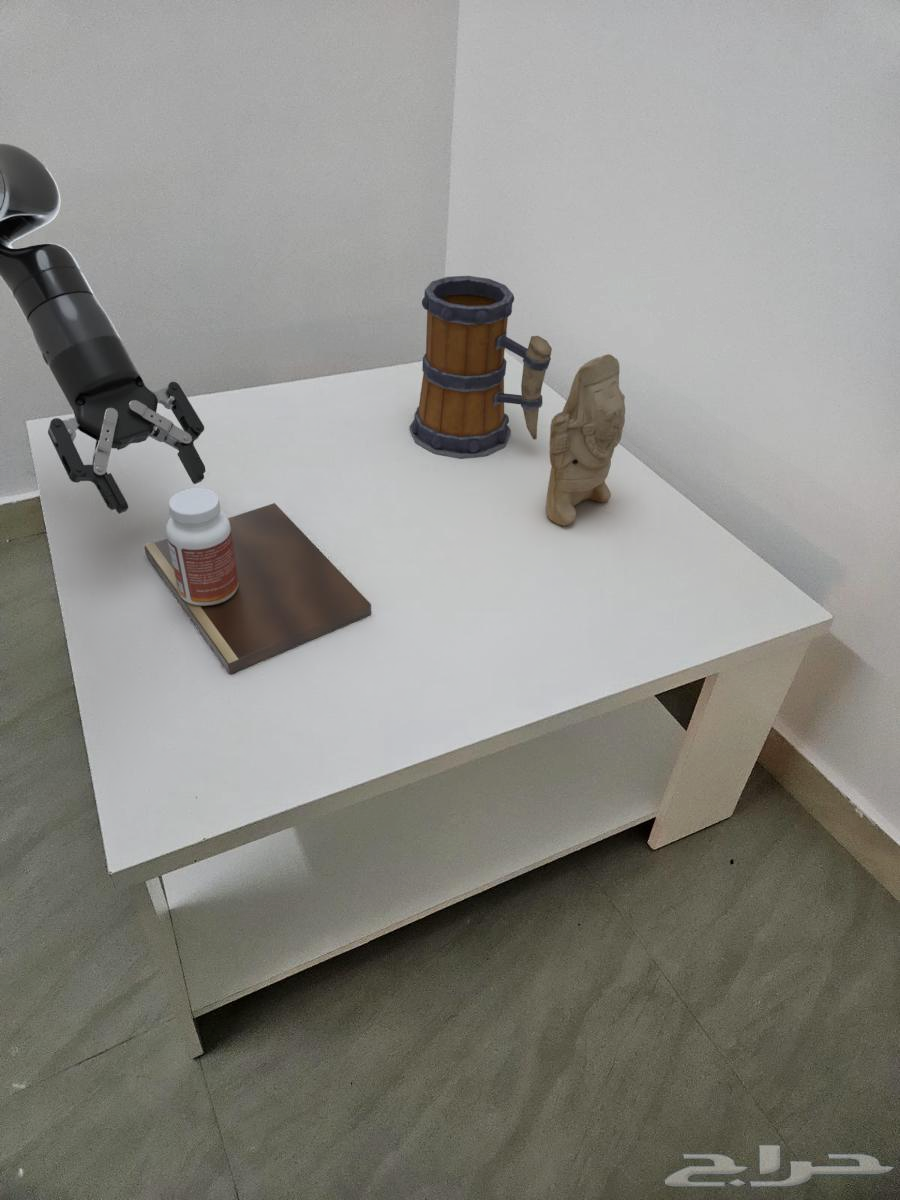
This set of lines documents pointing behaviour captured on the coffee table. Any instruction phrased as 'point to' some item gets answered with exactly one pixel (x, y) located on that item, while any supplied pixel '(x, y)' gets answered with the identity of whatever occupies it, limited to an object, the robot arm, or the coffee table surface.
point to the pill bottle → (201, 547)
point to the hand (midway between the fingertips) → (162, 495)
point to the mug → (473, 369)
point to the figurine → (585, 439)
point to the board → (269, 591)
